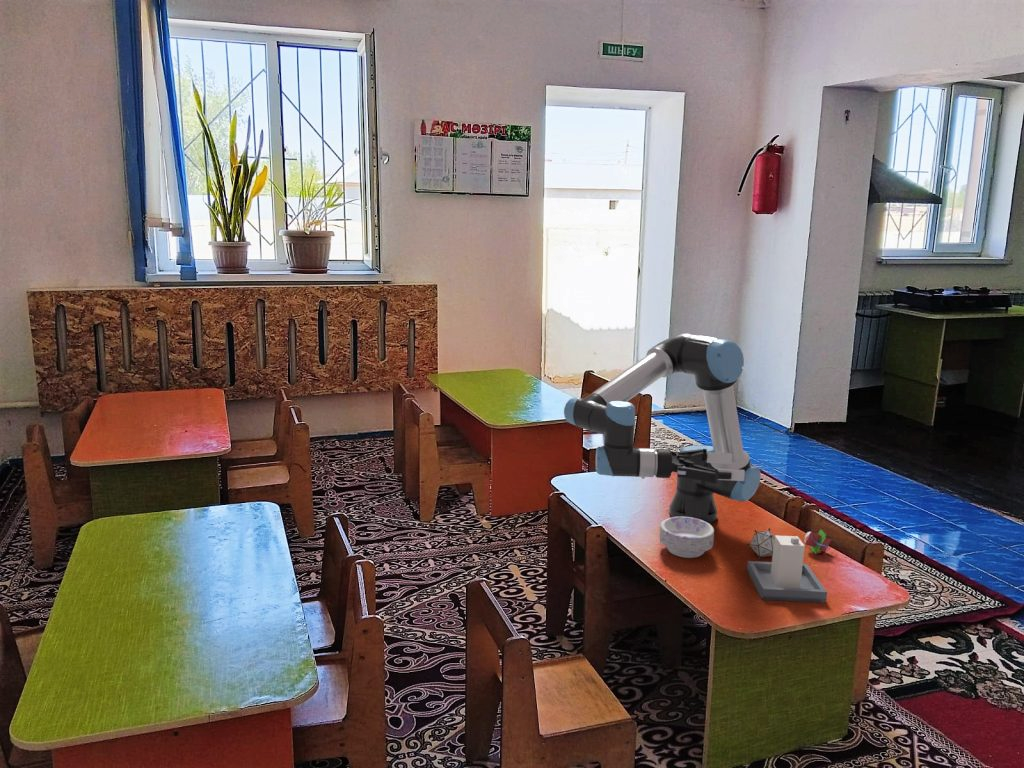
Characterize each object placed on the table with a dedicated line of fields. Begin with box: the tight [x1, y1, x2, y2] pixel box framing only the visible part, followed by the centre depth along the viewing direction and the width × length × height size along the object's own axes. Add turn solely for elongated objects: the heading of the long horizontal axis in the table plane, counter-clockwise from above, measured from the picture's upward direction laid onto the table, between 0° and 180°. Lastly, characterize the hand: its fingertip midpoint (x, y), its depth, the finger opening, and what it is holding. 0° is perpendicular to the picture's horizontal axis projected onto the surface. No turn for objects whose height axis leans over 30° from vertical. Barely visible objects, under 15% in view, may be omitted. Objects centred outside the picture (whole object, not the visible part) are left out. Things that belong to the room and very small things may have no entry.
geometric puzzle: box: [803, 528, 832, 555], centre depth 224 cm, size 7×7×8 cm
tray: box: [746, 560, 828, 604], centre depth 203 cm, size 16×16×3 cm
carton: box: [770, 534, 806, 588], centre depth 202 cm, size 6×6×13 cm
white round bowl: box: [659, 516, 715, 559], centre depth 222 cm, size 15×15×8 cm
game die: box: [746, 527, 775, 560], centre depth 220 cm, size 9×8×10 cm
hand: (737, 466), depth 199 cm, fingers open, 13 cm apart
